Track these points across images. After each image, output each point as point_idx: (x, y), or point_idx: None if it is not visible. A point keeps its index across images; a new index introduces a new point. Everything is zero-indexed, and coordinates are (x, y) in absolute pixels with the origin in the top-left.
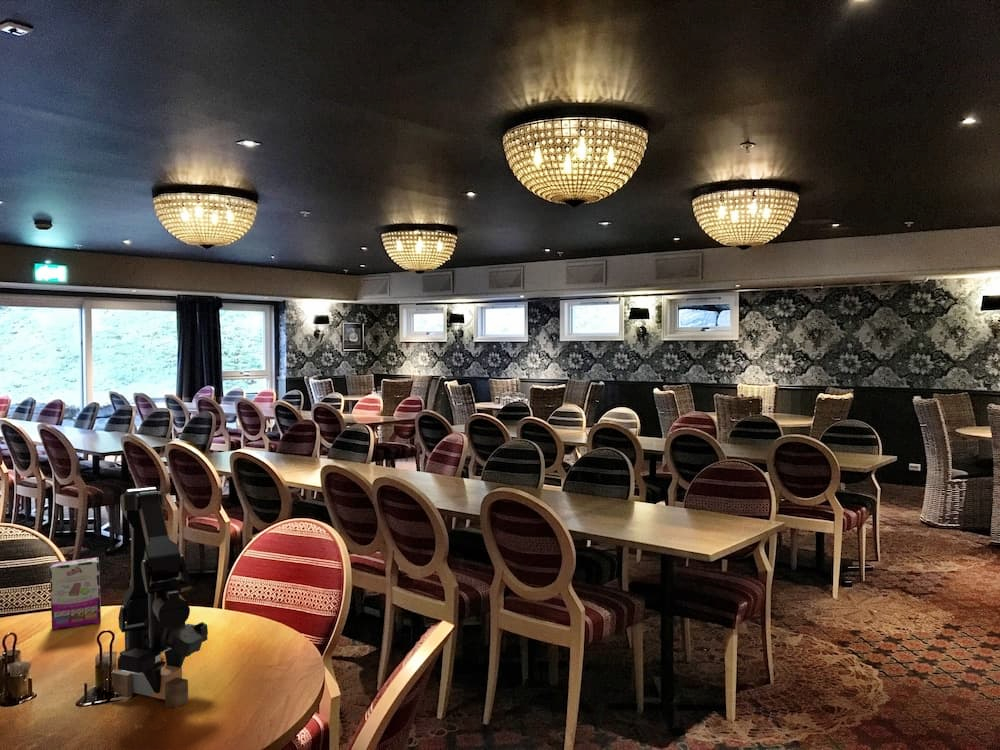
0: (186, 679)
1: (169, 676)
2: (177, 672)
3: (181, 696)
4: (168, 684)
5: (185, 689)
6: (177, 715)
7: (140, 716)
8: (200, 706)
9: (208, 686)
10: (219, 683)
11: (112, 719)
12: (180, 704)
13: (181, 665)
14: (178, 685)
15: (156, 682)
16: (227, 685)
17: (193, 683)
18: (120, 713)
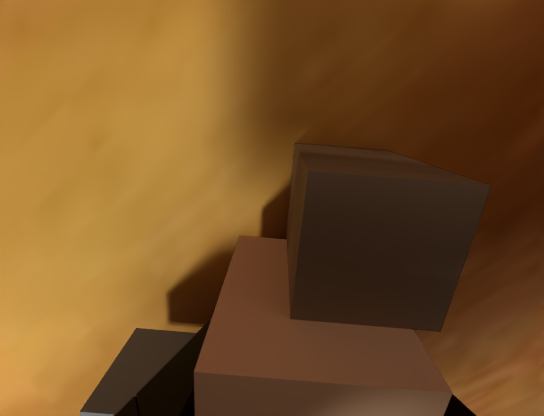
0: (307, 190)
1: (397, 366)
2: (270, 354)
3: (369, 155)
4: (449, 291)
5: (332, 157)
6: (484, 76)
7: (506, 273)
8: (335, 4)
9: (82, 162)
10: (15, 121)
11: (541, 363)
12: (363, 149)
13: (127, 412)
14: (460, 179)
15: (452, 399)
16: (2, 41)
17: (98, 266)
18: (479, 369)
